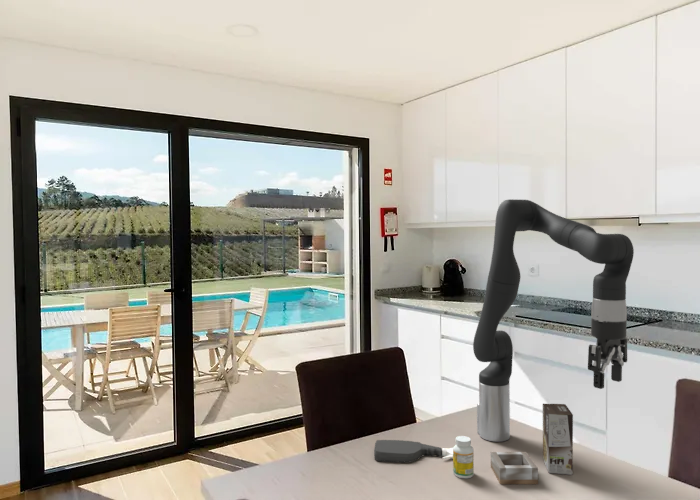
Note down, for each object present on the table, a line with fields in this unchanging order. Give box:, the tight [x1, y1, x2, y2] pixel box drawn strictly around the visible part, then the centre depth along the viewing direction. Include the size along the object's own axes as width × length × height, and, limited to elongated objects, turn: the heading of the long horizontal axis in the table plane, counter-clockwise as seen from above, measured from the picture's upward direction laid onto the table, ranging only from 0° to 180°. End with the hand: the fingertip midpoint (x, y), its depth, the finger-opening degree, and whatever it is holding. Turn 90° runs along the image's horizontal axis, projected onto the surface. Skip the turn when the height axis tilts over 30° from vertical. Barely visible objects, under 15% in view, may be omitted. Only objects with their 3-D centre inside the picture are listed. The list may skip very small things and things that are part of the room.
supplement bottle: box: [452, 435, 475, 479], centre depth 137 cm, size 5×5×10 cm
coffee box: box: [542, 403, 574, 476], centre depth 140 cm, size 9×6×16 cm
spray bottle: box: [373, 439, 453, 463], centre depth 149 cm, size 3×11×24 cm
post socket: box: [490, 451, 539, 485], centre depth 136 cm, size 10×10×4 cm
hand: (607, 384), depth 123 cm, fingers open, 8 cm apart
